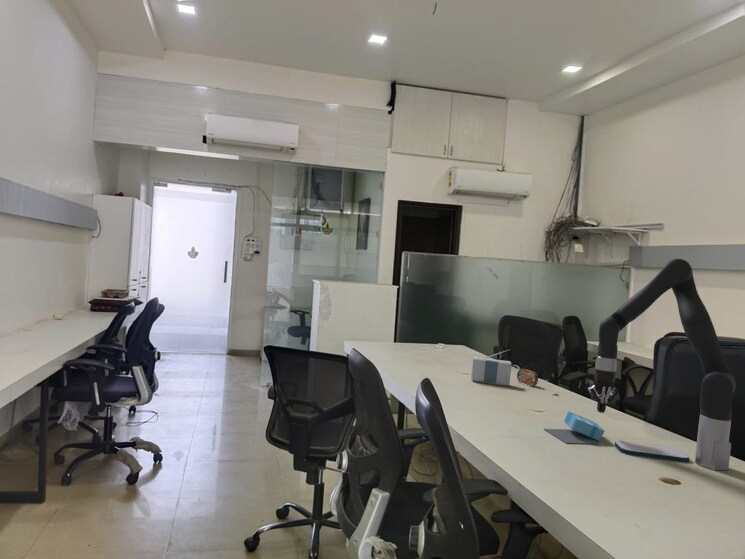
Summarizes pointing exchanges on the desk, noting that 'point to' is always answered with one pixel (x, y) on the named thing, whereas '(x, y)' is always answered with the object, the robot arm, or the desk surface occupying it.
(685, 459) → the white blue flat slab
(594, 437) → the data package
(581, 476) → the desk surface
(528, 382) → the tin
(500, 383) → the stereo radio cassette player
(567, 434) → the mat
